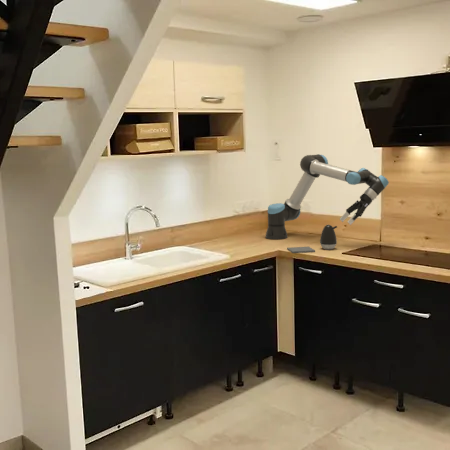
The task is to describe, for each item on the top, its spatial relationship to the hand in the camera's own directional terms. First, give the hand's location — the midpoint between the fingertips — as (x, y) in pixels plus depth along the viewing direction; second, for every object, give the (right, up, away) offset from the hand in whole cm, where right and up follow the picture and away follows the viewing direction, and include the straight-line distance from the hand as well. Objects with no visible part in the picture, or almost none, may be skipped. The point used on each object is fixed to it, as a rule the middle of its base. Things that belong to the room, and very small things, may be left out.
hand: (344, 222), depth 359 cm
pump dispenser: (-10, -17, +1) cm, 20 cm away
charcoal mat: (-28, -18, -3) cm, 33 cm away
